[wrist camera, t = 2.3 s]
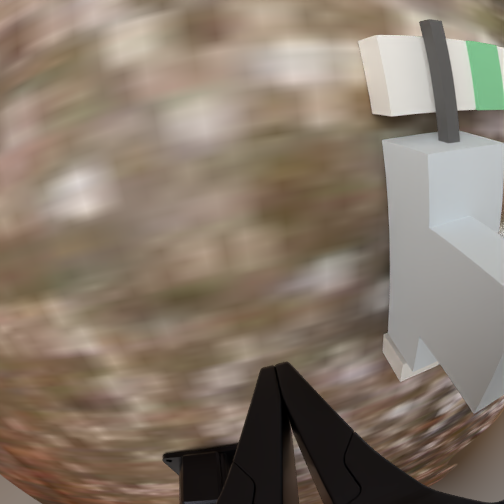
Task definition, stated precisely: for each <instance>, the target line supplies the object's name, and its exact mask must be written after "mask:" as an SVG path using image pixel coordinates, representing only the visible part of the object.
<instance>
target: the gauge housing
mask: <svg viewBox="0 0 504 504" xmlns="http://www.w3.org/2000/svg"><path fill="white" fill-rule="evenodd" d="M446 42H447V47H448V52H449V57H450V62H451V68H452V74H453V80H454V87H455V94H456V102H457V111H459V110H504V48H503V47H498V46H496V45H491V44H486V43H480V42H474V41H462V40H455V39H446ZM358 44H359V48H360V53H361V57H362V62H363V66H364V71H365V76H366V81H367V86H368V91H369V97H370V103H371V108H372V114H378V115H385V116H391V117H392V116H401V115H410V114H420V113H431V112H436V109H435V101H434V94H433V87H432V81H431V75H430V69H429V63H428V58H427V53H426V49H425V44H424V39H423V37H422V36H402V35H375V36H372V37H369V38H366V39H363V40H360V41H358ZM382 352H383V354H384V355H385V357H386V359H387V360H388V362H389V364H390V365H391V367H392V369H393V370H394V372H395V374H396V376H397V377H398V379H399V381H400V382H401V381H403V380H406V379H408V378H411V377H413V376H415V375H417V374H420V373H422V372H424V371H426V370H429V369H431V368H433V367H435V366H437V365H439V362H438V361H436V362H434V363H432V364H430V365H428V366H426V367H423V368H421V369H419V370H417V371H414V372H412V370H411V369H410V367H409V365H408V364H407V362H406V361H405V359H404V358H403V356H402V354H401V353H400V351H399V350H398V348H397V347H396V345H395V344H394V342H393V341H392V339H391V338H390V336H389V335H388V333H385V334H384V336H383V351H382Z"/></svg>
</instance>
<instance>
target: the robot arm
mask: <svg viewBox="0 0 504 504" xmlns="http://www.w3.org/2000/svg"><path fill="white" fill-rule="evenodd" d="M290 424H291V426H290ZM291 428H292V430H293V433H294V436H295V438H296V440H297V443H298V445H299V448H300V450H301V452H302V455H303V457H304V459H305V462H306V464H307V466H308V469H309V471H310V474H311V476H312V478H313V480H314V483H315V485H316V487H317V490H318V492H319V494H320V497H321V499H322V501H323V503H324V504H504V500H503V501H499V502H494V503H487V502H481V501H477V500H472V499H467V498H463V497H458V496H455V495H450V494H447V493H443V492H439V491H436V490H433V489H431V488H429V487H427V486H425V485H423V484H421V483H420V482H418V481H417V480H415V479H414V478H412V477H411V476H409V475H408V474H406V473H405V472H403V471H402V470H401V469H399V468H398V467H396V466H395V465H393V464H392V463H391V462H389V461H388V460H386V459H385V458H384V457H383V456H381V455H380V454H379V453H377V452H376V451H375V450H374V449H373V448H372V447H371V446H369V445H368V444H367V443H366V442H365V441H364V440H363V439H362V438H361V437H360V436H359V435H358V434H357V433H356V432H354V430H353V429H352V428H351V427H350V426H349V425H348V424H347V423H346V422H345V421H344V420H343V419H342V418H341V417H340V416H339V415H338V414H337V413H336V412H335V411H334V410H333V409H332V408H331V407H330V405H329V404H328V403H327V402H326V401H325V400H324V399H323V398H322V397H321V396H320V395H319V394H318V393H317V392H316V391H315V390H314V389H313V388H312V387H311V385H310V384H309V383H308V382H307V381H306V380H305V379H304V378H303V377H302V376H301V375H300V374H299V373H298V372H297V370H296V369H295V368H294V367H293V366H292V365H291V364H290V363H289V362H283V363H279V364H276V365H275V366H273V365H271V366H267V367H263V368H262V369H261V370H260V373H259V376H258V380H257V383H256V387H255V390H254V394H253V397H252V400H251V404H250V407H249V410H248V414H247V417H246V420H245V424H244V427H243V430H242V433H241V437H240V440H239V443H238V445H232V446H226V447H220V448H213V449H206V450H198V451H190V452H181V453H170V454H164V455H163V462H164V463H166V464H167V465H168V466H169V467H170V468H171V469H172V470H173V471H175V472H176V473H177V474H178V475H179V500H180V504H299V498H298V487H297V478H296V468H295V458H294V449H293V440H292V432H291Z"/></svg>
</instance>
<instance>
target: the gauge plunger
mask: <svg viewBox="0 0 504 504" xmlns="http://www.w3.org/2000/svg"><path fill="white" fill-rule="evenodd" d="M419 23H420V27H421V31H422V35H423V39H424V44H425V49H426V53H427V58H428V63H429V69H430V75H431V81H432V87H433V94H434V101H435V109H436V118H437V128H438V132H432V133H424V134H417V135H410V136H403V137H396V138H390V139H383V140H382V145H383V153H384V162H385V172H386V184H387V197H388V214H389V239H390V295H389V320H388V335H389V336H390V338H391V339H392V341H393V342H394V344H395V345H396V347H397V348H398V350H399V351H400V353H401V354H402V356H403V358H404V359H405V361H406V362H407V364H408V365H409V367H410V369H411V370H412V372H414V371H417V370H419V369H421V368H423V367H426V366H428V365H430V364H432V363H434V362H436V361H438V362H439V364H440V365H441V366H442V368H443V369H444V371H445V372H446V374H447V375H448V376H449V378H450V379H451V381H452V382H453V384H454V385H455V387H456V388H457V390H458V391H459V393H460V394H461V396H462V397H463V399H464V400H465V402H466V403H467V405H468V406H469V408H470V409H471V411H472V412H473V414H475V413H476V412H478V411H480V410H481V409H483V408H484V407H486V406H487V405H489V404H491V403H492V402H494V401H495V400H497V399H498V398H500V397H501V396H503V395H504V237H503V236H501V235H500V234H499V228H500V219H501V209H502V197H503V178H504V143H502V142H499V141H495V140H492V139H488V138H485V137H481V136H478V135H474V134H470V133H466V132H463V131H459V122H458V111H457V102H456V94H455V87H454V80H453V74H452V68H451V62H450V57H449V52H448V47H447V42H446V38H445V33H444V29H443V25H442V21H438V20H430V19H429V20H424V21H420V22H419Z"/></svg>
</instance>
